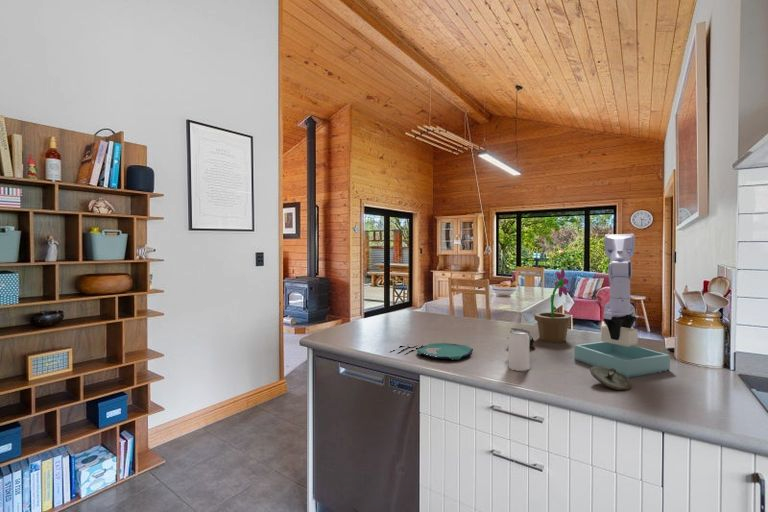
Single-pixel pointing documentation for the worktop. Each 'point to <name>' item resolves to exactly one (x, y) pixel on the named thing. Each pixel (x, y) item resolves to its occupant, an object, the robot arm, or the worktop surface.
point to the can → (518, 350)
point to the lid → (610, 378)
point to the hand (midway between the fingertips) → (619, 338)
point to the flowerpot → (554, 316)
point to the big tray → (623, 358)
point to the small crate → (621, 336)
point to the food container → (526, 331)
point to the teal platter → (447, 351)
